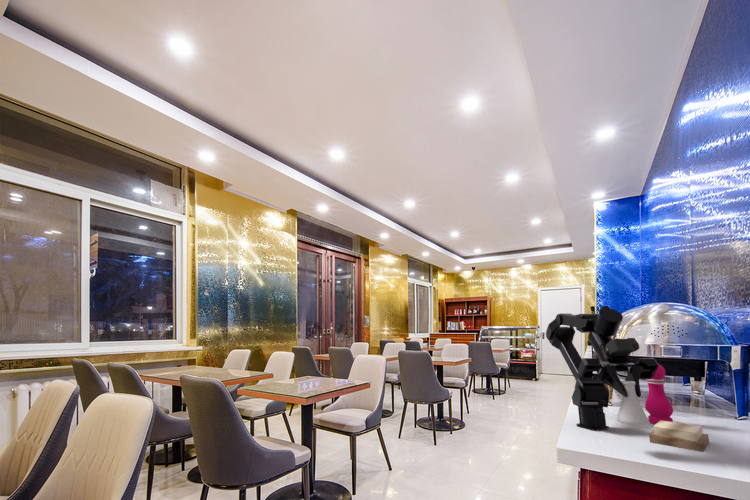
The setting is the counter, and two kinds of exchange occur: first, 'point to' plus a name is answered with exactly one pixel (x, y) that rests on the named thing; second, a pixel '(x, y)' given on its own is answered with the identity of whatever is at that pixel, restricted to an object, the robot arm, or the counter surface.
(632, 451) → the counter surface
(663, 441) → the tower base
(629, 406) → the flask
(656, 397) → the pepper mill
